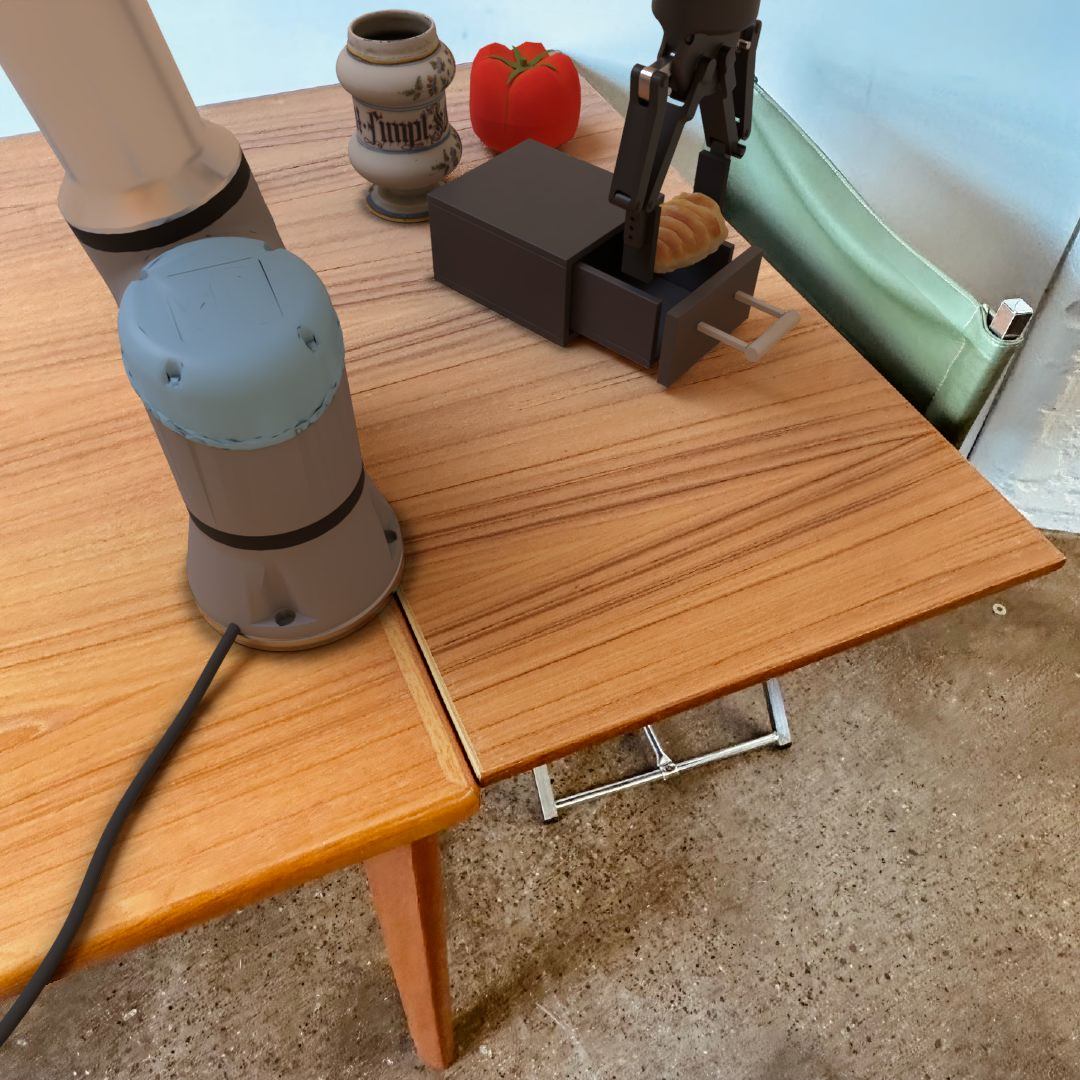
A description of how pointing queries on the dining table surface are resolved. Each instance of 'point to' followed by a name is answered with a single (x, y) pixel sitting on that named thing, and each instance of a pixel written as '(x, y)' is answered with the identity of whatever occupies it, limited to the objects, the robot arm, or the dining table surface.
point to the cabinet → (522, 232)
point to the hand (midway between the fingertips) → (671, 250)
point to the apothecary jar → (399, 110)
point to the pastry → (688, 231)
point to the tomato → (523, 96)
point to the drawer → (671, 308)
